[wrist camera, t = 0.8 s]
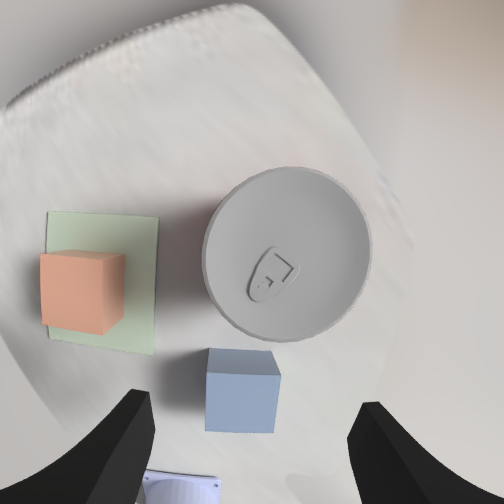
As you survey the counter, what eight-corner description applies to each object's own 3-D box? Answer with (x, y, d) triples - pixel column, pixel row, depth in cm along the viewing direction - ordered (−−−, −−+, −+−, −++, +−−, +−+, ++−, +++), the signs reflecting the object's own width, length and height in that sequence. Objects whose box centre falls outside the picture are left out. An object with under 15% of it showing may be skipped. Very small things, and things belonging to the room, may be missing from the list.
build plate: (154, 354, 24) (153, 355, 24) (50, 337, 23) (49, 338, 23) (159, 217, 24) (158, 217, 23) (50, 211, 23) (48, 211, 22)
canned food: (195, 273, 24) (172, 307, 13) (236, 177, 24) (246, 134, 13) (286, 310, 25) (329, 366, 14) (326, 217, 25) (396, 209, 14)
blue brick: (265, 402, 25) (273, 432, 21) (207, 399, 25) (204, 430, 20) (271, 350, 25) (281, 375, 20) (209, 347, 25) (206, 372, 20)
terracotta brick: (123, 316, 23) (103, 335, 19) (70, 309, 23) (42, 324, 18) (125, 254, 23) (102, 259, 18) (70, 249, 23) (40, 253, 18)
